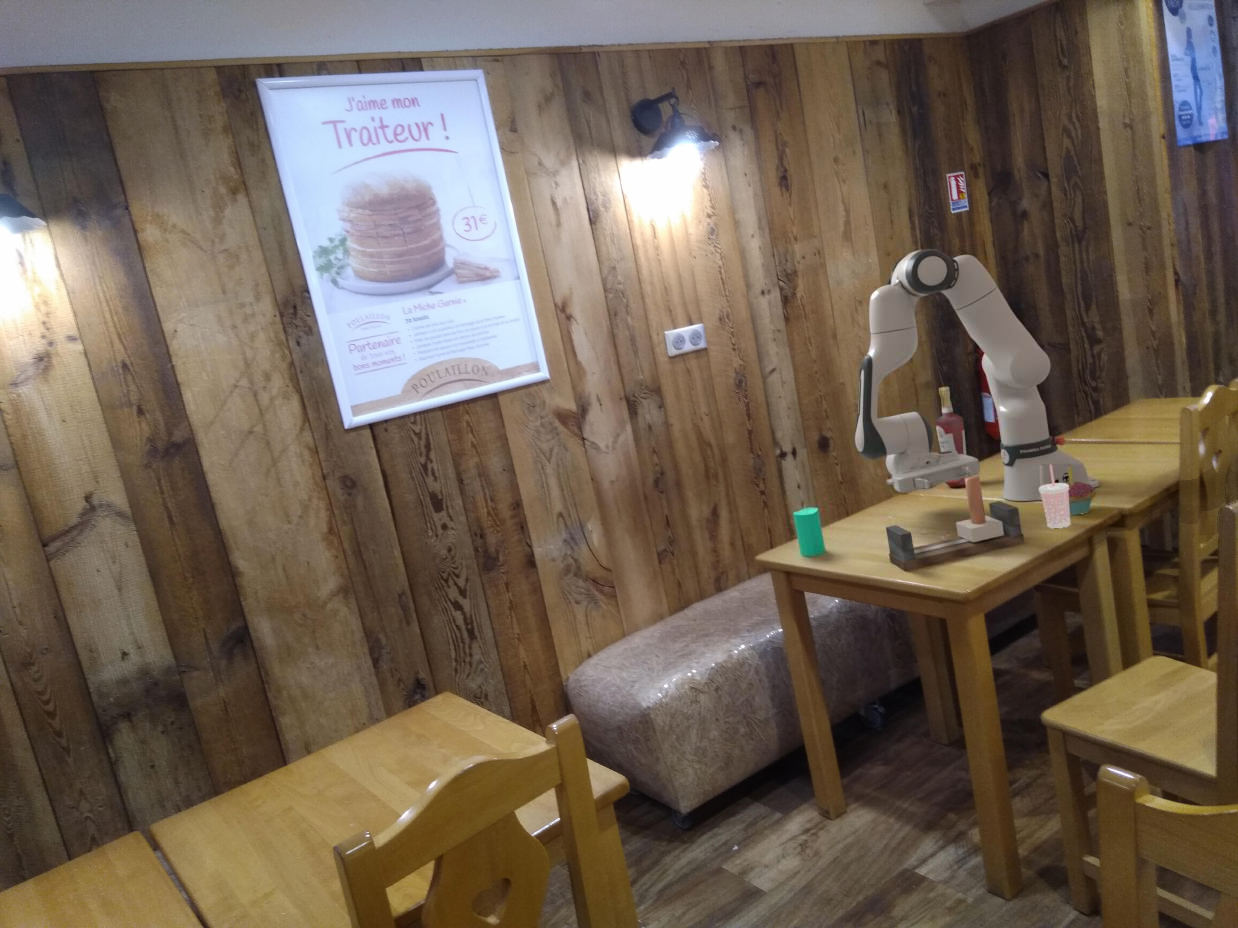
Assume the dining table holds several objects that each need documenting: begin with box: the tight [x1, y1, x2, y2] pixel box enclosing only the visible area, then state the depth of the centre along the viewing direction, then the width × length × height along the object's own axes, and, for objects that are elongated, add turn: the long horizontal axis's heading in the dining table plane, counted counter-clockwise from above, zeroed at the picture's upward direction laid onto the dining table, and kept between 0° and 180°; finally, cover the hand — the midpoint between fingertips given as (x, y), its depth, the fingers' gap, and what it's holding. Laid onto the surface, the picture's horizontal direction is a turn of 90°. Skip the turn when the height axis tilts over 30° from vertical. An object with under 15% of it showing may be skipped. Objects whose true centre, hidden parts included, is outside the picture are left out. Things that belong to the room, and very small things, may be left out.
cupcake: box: [1066, 464, 1096, 514], centre depth 206 cm, size 9×8×12 cm
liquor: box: [934, 386, 967, 489], centre depth 250 cm, size 7×7×28 cm
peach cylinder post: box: [955, 475, 1004, 542], centre depth 196 cm, size 7×7×13 cm
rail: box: [885, 500, 1025, 572], centre depth 196 cm, size 27×8×8 cm, turn 95°
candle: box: [793, 504, 826, 557], centre depth 218 cm, size 6×6×12 cm
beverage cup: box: [1039, 465, 1071, 529], centre depth 199 cm, size 6×6×14 cm
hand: (949, 479), depth 207 cm, fingers open, 8 cm apart
